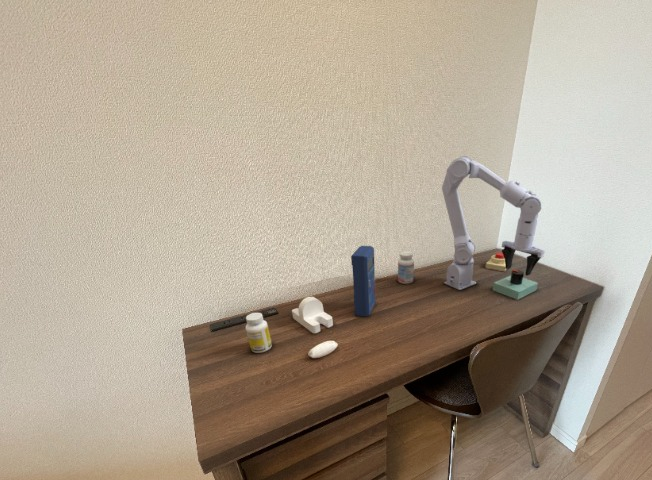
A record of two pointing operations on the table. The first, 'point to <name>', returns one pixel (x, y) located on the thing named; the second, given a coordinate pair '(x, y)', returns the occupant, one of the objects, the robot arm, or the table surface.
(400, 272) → the pill bottle
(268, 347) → the supplement bottle
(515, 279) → the dial
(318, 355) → the white spindle
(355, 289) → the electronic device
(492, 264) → the control block
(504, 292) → the dial panel
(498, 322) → the table surface
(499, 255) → the button
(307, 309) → the slotted bracket
